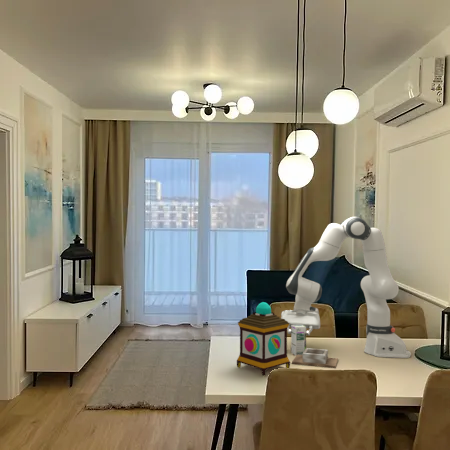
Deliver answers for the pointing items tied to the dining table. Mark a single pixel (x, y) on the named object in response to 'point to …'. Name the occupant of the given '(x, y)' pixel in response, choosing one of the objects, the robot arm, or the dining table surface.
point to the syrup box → (298, 339)
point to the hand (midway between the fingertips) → (298, 333)
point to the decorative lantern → (263, 340)
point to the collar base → (315, 358)
